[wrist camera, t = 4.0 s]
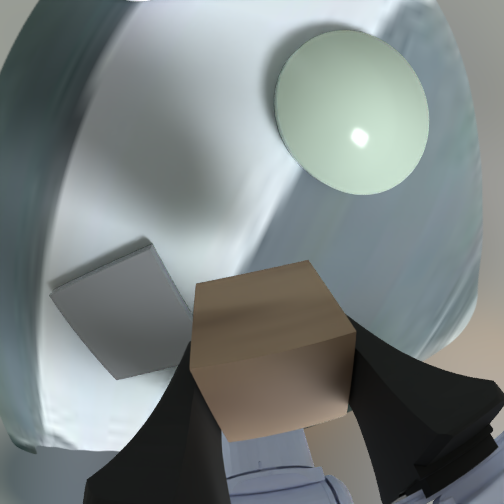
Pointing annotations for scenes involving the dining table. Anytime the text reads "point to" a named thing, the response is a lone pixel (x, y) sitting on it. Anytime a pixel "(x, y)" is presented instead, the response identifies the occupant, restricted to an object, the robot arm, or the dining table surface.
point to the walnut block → (271, 351)
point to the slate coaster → (128, 314)
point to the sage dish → (352, 112)
